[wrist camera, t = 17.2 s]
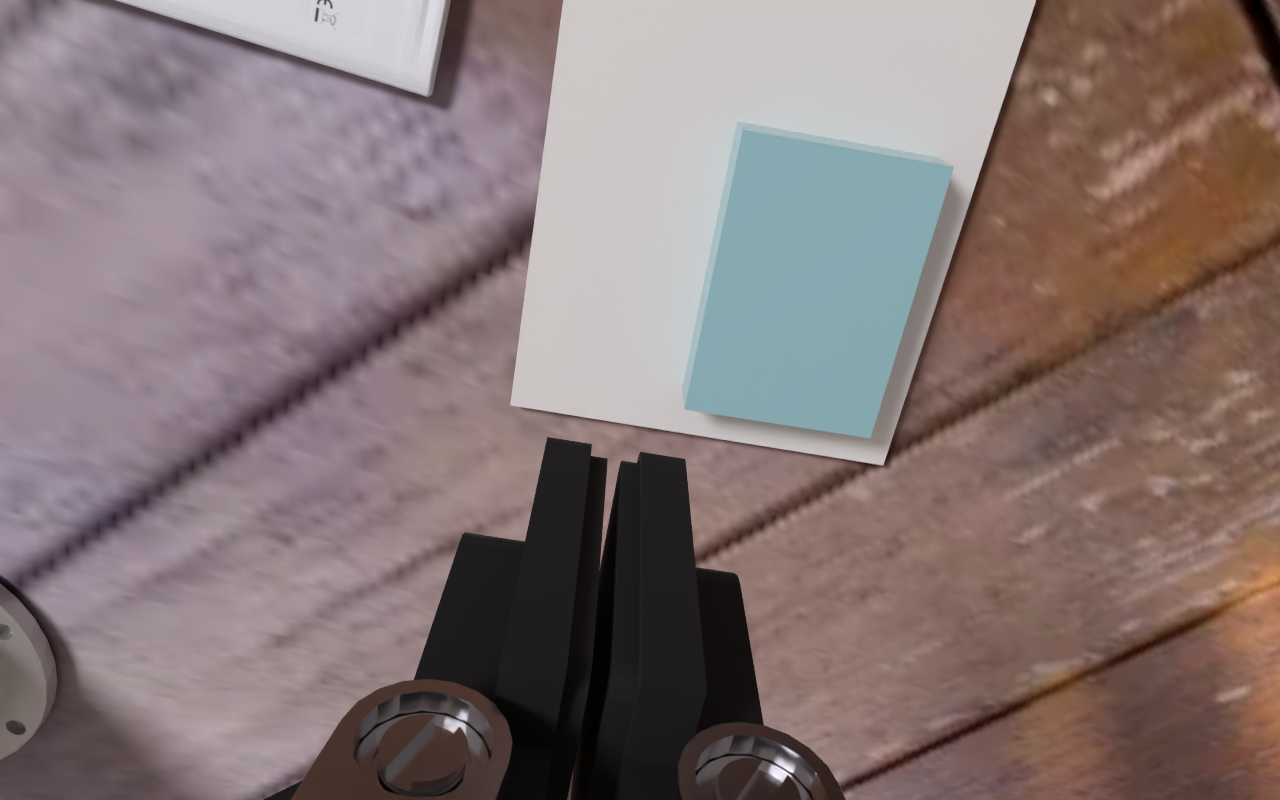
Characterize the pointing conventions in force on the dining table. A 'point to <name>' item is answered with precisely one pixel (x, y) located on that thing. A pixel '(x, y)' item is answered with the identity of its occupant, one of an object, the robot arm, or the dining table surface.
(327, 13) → the external hard drive
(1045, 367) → the dining table surface
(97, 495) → the dining table surface
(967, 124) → the mat
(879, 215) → the tile
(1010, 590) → the dining table surface
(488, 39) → the dining table surface
